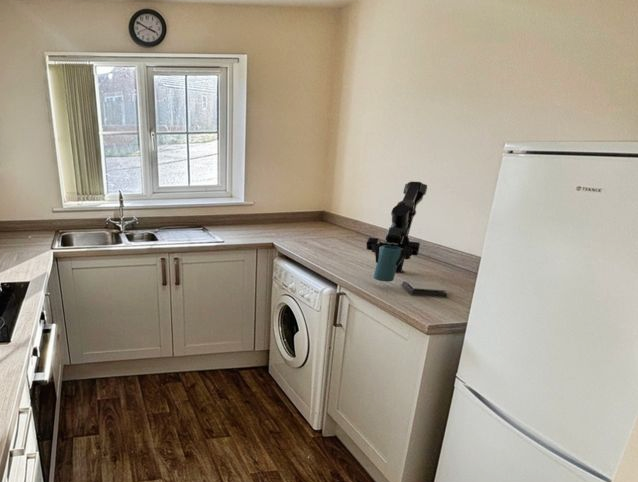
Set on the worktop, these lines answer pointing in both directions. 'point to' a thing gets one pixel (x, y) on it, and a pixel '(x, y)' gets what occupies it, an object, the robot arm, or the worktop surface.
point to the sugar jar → (387, 263)
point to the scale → (423, 291)
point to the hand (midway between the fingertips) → (386, 263)
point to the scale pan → (426, 286)
